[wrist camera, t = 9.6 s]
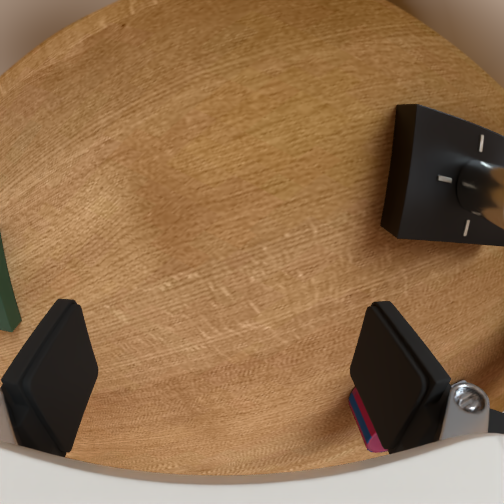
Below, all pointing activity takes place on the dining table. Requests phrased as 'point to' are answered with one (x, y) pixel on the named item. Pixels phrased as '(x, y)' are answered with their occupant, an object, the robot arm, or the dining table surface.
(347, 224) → the dining table surface
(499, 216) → the hob knob
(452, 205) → the panel
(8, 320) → the block
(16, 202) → the dining table surface
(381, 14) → the dining table surface
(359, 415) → the mug
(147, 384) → the dining table surface
